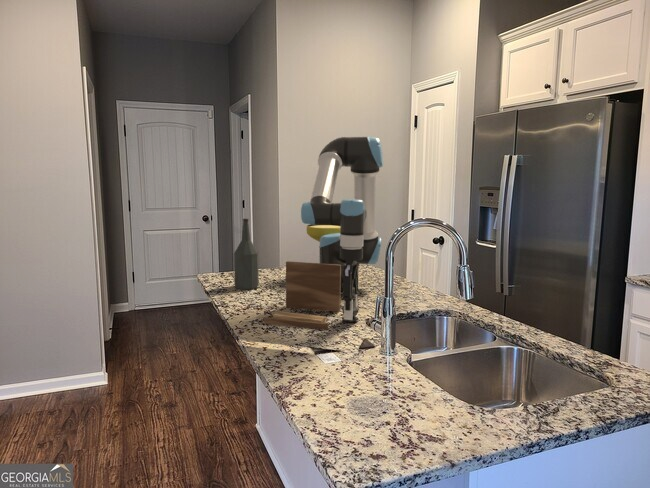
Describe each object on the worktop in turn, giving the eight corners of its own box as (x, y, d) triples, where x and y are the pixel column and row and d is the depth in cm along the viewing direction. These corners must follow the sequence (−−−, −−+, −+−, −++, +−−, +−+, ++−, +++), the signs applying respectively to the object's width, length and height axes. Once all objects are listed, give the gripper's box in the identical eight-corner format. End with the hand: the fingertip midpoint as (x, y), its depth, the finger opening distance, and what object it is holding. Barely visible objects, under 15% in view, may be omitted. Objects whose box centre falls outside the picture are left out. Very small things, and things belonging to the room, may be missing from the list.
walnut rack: (285, 309, 178) (285, 261, 175) (342, 314, 172) (343, 264, 169) (263, 327, 158) (262, 273, 155) (327, 333, 152) (327, 277, 149)
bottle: (256, 290, 204) (255, 219, 200) (233, 290, 204) (231, 219, 200) (259, 284, 214) (259, 217, 210) (237, 284, 215) (236, 217, 210)
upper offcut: (279, 316, 164) (279, 311, 164) (326, 322, 158) (326, 316, 158) (273, 320, 160) (273, 314, 159) (321, 326, 154) (321, 320, 154)
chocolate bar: (374, 345, 140) (315, 353, 135) (374, 349, 141) (315, 356, 135) (362, 335, 149) (306, 341, 143) (362, 338, 149) (306, 344, 143)
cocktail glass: (300, 276, 232) (300, 224, 228) (334, 273, 240) (334, 222, 236) (315, 284, 216) (316, 228, 212) (351, 280, 223) (352, 227, 220)
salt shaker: (357, 322, 156) (357, 286, 154) (339, 320, 158) (339, 285, 156) (360, 317, 162) (361, 282, 160) (343, 315, 163) (344, 280, 161)
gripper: (346, 242, 166) (345, 307, 170) (333, 251, 148) (332, 324, 152) (368, 243, 164) (366, 309, 168) (357, 252, 146) (355, 326, 150)
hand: (350, 316), depth 160 cm, fingers closed on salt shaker, 6 cm apart
